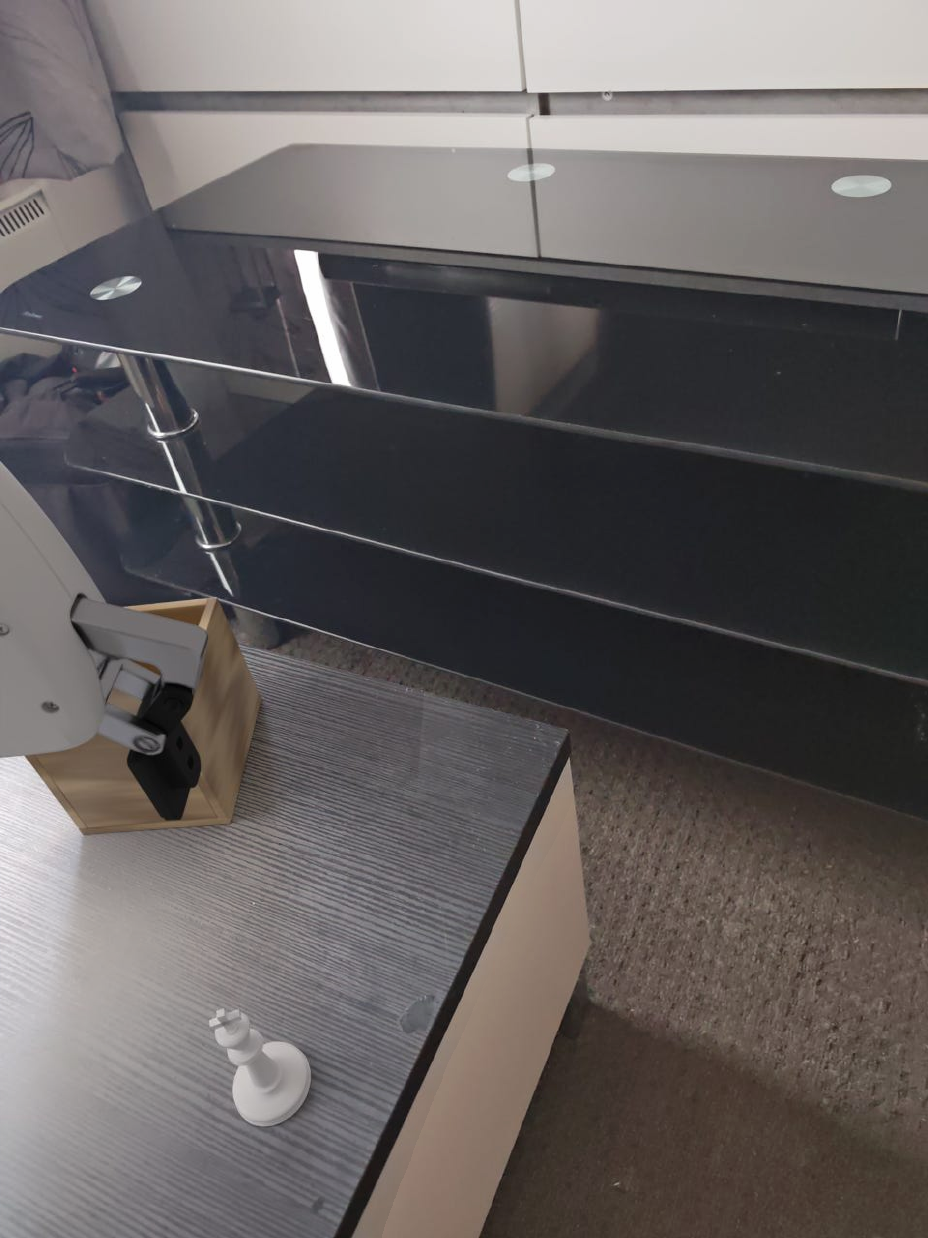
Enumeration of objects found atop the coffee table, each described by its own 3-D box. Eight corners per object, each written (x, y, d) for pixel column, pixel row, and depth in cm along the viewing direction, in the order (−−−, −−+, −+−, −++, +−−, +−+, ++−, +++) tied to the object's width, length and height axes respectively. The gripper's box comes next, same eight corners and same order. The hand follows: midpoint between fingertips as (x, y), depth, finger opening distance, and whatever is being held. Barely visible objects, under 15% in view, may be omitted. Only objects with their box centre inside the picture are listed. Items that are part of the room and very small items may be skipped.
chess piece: (230, 1061, 59) (174, 989, 52) (304, 1033, 60) (257, 958, 53) (239, 1139, 55) (180, 1072, 49) (317, 1109, 56) (269, 1039, 49)
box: (131, 710, 85) (73, 612, 77) (262, 698, 83) (217, 596, 75) (82, 834, 75) (10, 737, 66) (230, 824, 73) (175, 722, 65)
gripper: (-547, 566, 25) (-162, 895, 37) (43, 493, 23) (254, 865, 34) (-360, 422, 31) (-77, 747, 42) (129, 352, 28) (287, 714, 40)
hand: (72, 800), depth 38 cm, fingers open, 9 cm apart
